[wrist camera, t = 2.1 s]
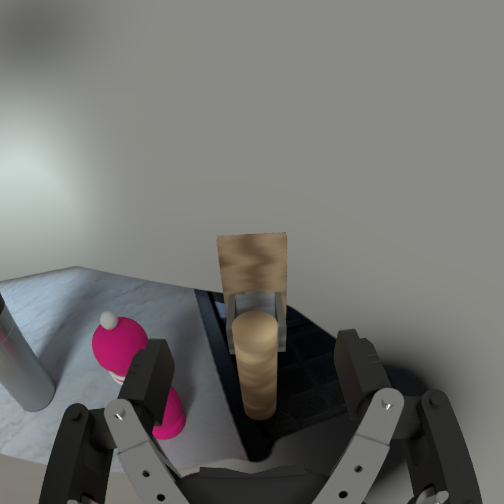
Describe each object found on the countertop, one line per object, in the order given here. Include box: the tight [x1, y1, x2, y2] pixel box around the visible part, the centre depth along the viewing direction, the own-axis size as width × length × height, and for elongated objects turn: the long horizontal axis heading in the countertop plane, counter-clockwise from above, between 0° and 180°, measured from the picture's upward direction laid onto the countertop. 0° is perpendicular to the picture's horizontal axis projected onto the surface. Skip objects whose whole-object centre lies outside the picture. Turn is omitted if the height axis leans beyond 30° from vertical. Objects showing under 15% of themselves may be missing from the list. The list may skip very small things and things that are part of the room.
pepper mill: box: [92, 311, 185, 439], centre depth 26 cm, size 7×7×20 cm
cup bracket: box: [217, 232, 287, 354], centre depth 40 cm, size 10×10×18 cm
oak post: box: [232, 311, 277, 420], centre depth 29 cm, size 4×4×16 cm
